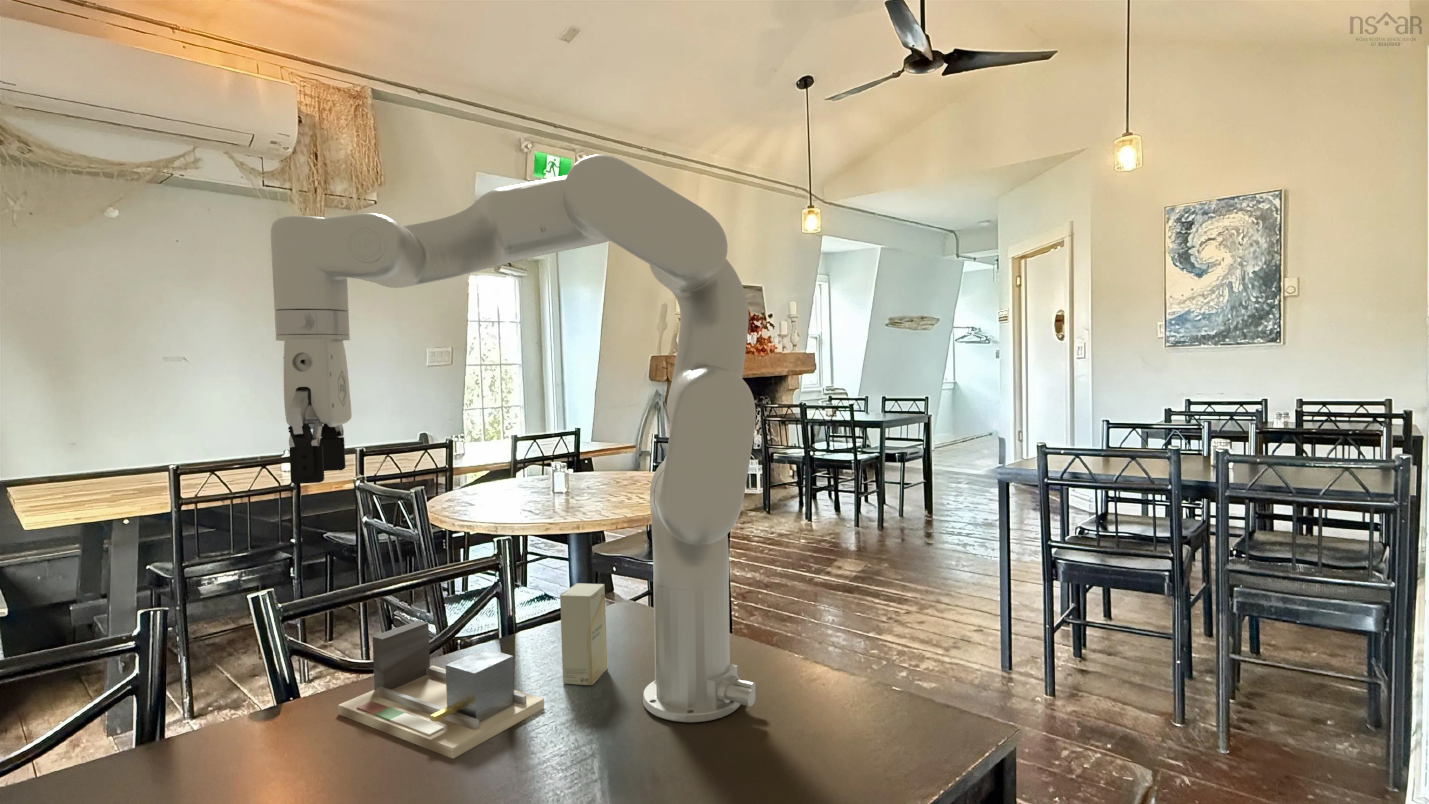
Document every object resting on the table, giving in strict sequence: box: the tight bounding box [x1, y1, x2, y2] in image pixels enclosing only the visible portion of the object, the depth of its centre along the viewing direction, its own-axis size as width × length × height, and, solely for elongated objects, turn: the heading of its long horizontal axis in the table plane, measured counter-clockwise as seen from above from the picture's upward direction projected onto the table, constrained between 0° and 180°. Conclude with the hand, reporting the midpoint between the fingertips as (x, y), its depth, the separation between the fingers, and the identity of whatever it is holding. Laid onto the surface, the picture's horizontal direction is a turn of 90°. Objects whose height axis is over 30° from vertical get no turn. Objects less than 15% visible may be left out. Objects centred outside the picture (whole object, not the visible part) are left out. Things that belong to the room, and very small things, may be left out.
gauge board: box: [337, 619, 545, 759], centre depth 95 cm, size 21×14×8 cm, turn 58°
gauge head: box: [430, 648, 515, 722], centre depth 91 cm, size 5×10×6 cm, turn 148°
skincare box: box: [559, 582, 608, 686], centre depth 105 cm, size 6×4×12 cm
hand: (320, 476), depth 89 cm, fingers open, 9 cm apart
